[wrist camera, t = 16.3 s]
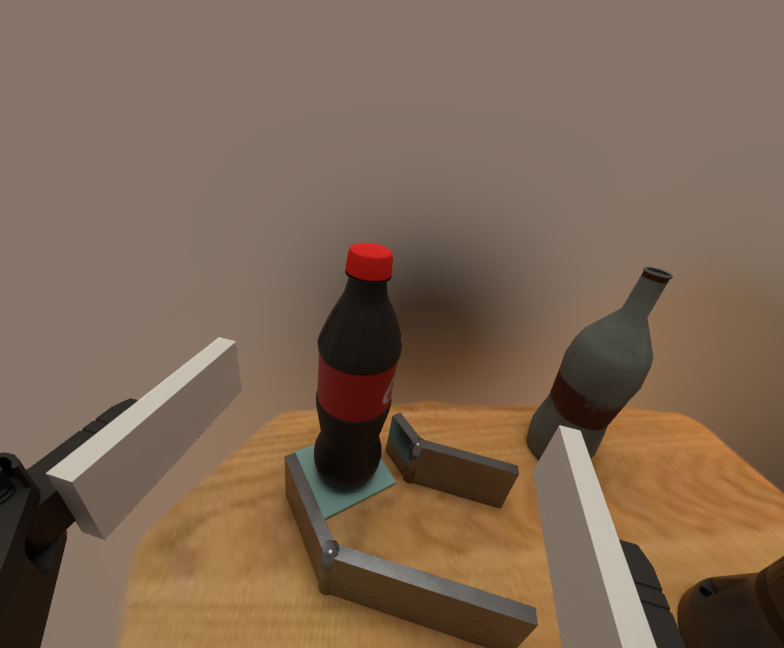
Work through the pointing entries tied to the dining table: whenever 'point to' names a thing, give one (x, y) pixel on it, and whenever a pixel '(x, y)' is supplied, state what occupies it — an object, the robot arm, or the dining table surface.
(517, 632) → the channel
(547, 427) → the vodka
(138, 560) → the dining table surface
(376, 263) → the cola bottle
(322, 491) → the tile
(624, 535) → the dining table surface
